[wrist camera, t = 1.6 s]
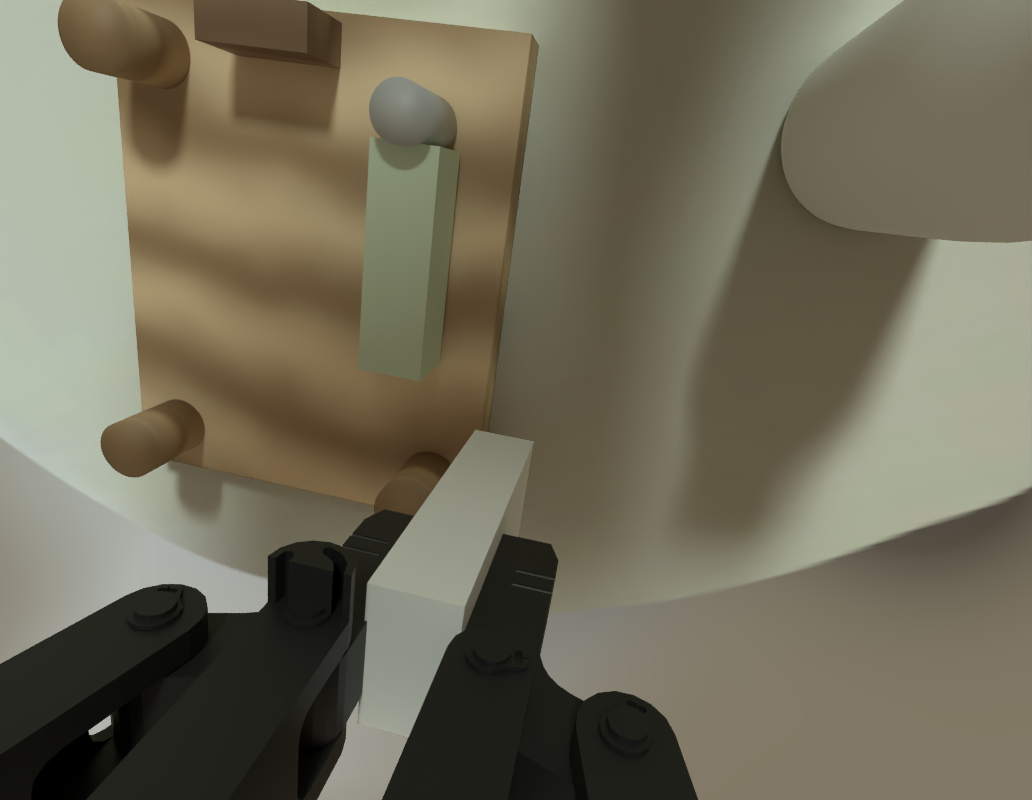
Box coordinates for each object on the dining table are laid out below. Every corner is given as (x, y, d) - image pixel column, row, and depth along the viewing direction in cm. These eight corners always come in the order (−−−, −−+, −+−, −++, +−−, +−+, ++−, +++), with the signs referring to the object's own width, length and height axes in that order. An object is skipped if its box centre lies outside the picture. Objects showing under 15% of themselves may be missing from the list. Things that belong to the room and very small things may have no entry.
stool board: (142, 0, 30) (29, -47, 24) (538, 45, 27) (514, 4, 22) (169, 442, 38) (88, 483, 32) (477, 509, 35) (448, 567, 29)
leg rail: (401, 90, 27) (363, 72, 23) (466, 98, 26) (438, 81, 23) (383, 353, 31) (349, 374, 27) (439, 364, 30) (412, 386, 27)
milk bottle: (808, 257, 28) (1167, 369, 9) (752, 92, 26) (1050, -185, 8) (995, 182, 26) (1976, 123, 7) (946, -4, 24) (2053, -736, 5)
